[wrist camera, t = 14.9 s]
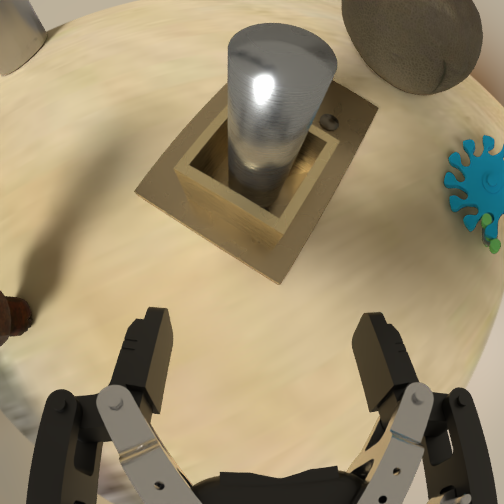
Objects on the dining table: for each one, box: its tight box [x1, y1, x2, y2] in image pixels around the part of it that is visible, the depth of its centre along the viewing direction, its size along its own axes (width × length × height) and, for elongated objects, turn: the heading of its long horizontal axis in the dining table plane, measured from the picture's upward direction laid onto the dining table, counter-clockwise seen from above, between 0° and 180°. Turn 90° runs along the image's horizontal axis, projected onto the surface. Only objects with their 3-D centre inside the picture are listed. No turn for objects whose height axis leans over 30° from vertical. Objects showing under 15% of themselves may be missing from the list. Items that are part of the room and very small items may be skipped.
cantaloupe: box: [342, 0, 483, 95], centre depth 16 cm, size 14×14×15 cm
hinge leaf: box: [134, 80, 378, 285], centre depth 18 cm, size 12×18×5 cm, turn 148°
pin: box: [228, 23, 337, 208], centre depth 13 cm, size 4×4×12 cm
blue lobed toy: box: [444, 135, 504, 254], centre depth 19 cm, size 11×6×10 cm
